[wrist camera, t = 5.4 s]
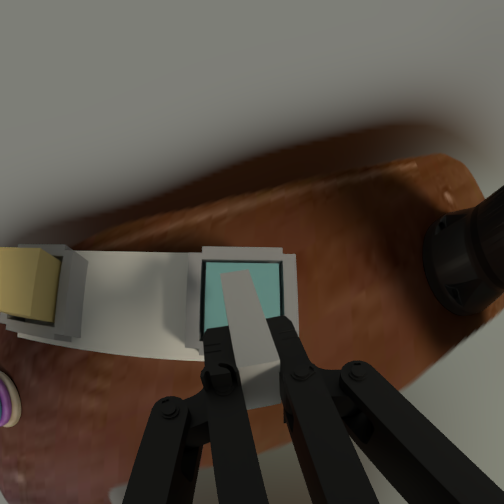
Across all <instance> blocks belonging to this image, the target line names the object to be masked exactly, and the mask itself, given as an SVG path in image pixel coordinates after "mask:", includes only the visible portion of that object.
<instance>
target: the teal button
mask: <svg viewBox="0 0 504 504" xmlns="http://www.w3.org/2000/svg"><path fill="white" fill-rule="evenodd" d="M247 269H249V272H250V275H251V278H252V281H253V284H254V287H255V290H256V292H257V295H258V298H259V301H260V304H261V307H262V310H263V313H264V316H265V318H271V317H277V316H280V289H279V264H278V263H213V262H206V286H205V324H204V333H205V331H206V329H208V328H215V327H222V326H228V321H227V315H226V309H225V303H224V296H223V290H222V283H221V277H220V274H221V273H227V272H234V271H240V270H247Z"/></svg>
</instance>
